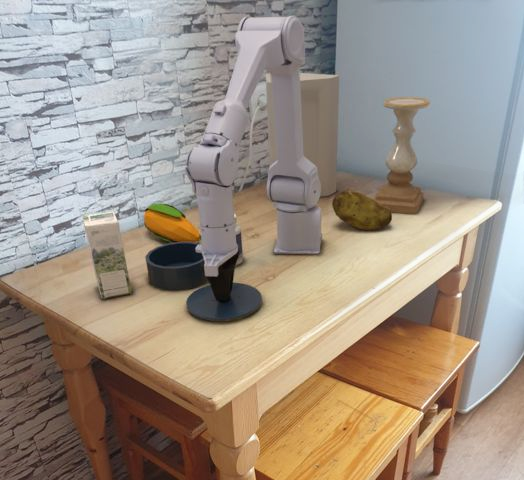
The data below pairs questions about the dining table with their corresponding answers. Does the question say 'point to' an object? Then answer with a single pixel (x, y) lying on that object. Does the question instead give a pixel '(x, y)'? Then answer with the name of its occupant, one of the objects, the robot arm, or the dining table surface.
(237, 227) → the pill bottle
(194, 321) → the dining table surface
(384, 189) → the candle holder
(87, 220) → the syrup box
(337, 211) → the potato
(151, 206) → the corn
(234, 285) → the lid
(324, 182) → the paper bag
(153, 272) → the pot
